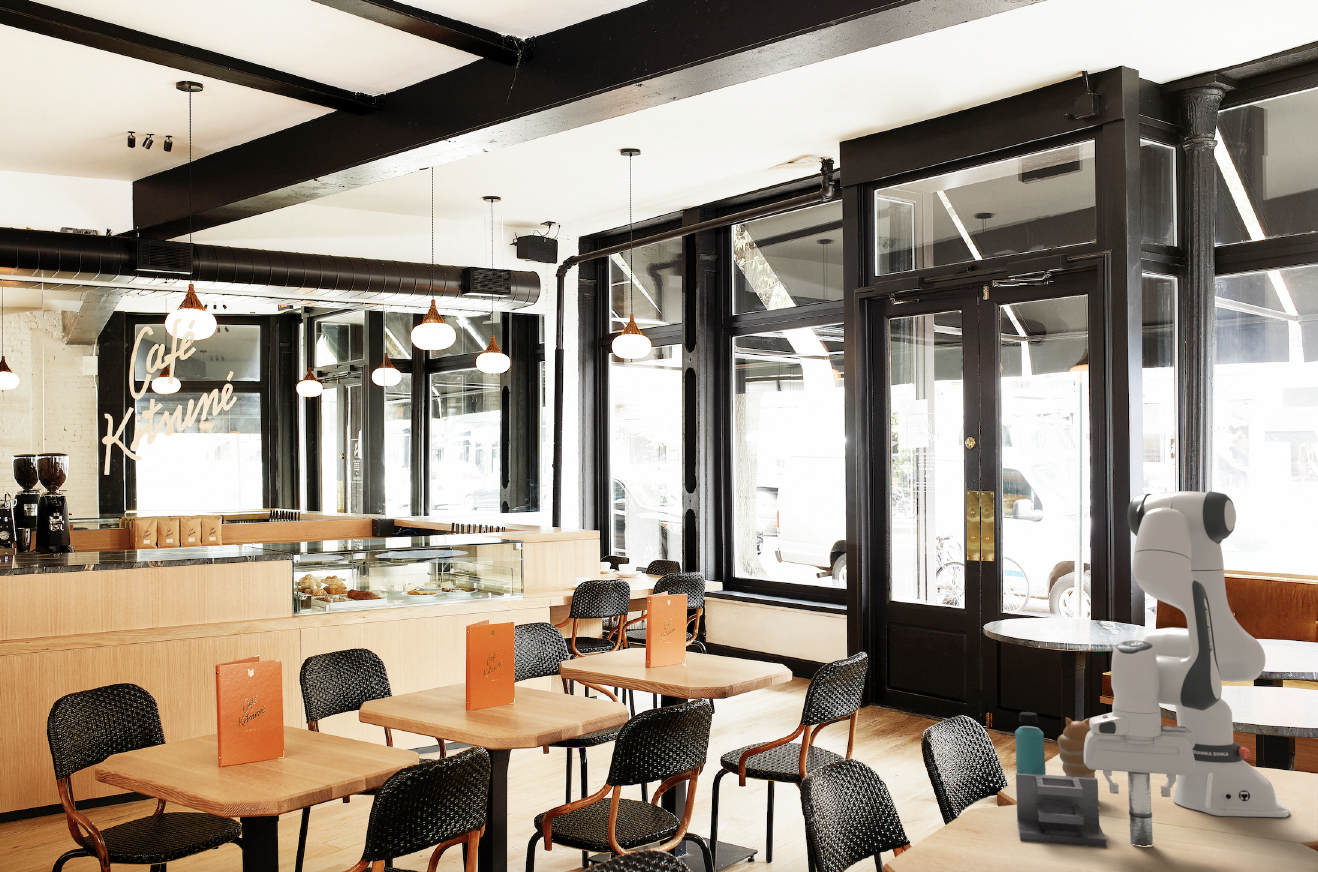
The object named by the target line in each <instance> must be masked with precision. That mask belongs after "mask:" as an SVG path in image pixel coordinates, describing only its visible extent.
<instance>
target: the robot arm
mask: <svg viewBox="0 0 1318 872" xmlns="http://www.w3.org/2000/svg"><path fill="white" fill-rule="evenodd" d="M1236 522H1237V512H1236V509H1235V504H1234V502H1233V500H1232V499H1231V498H1230V497H1229V496H1228V495H1227V494H1225V493H1221V492H1217V491H1208V492H1204V491H1193V490H1191V491H1189V490H1188V491H1187V490H1185V491H1181V490H1180V491H1175V492H1160V493H1155V494H1154V493H1153V494H1151V493H1143V494H1140V495H1137V496H1134V498H1133V499H1132V500H1131V501H1130V503H1129V504H1128V507H1127V524H1128V527H1129V530H1130V531H1131V533H1133V534H1134V535H1135V537H1136V540H1135V544H1134V545H1135V546H1134V551H1133V552H1134V553H1133V562H1132V564H1133V565H1132V573H1133V577H1134V580H1135V582H1136V584H1137V586H1138V587H1139V588H1140V589H1141V590H1142V591H1143V592H1144V593H1146V594H1147V595H1149V596H1150V597H1152V598H1154V599H1155V600H1159V602H1163V603H1165V604H1168V605H1170V606H1173V607H1174V608H1176V609H1178V610H1180V611H1181V612H1183V614H1184V616H1185V618H1186V625H1187V628H1184V627H1175V626H1174V627H1164V628H1155V629H1152V630H1150V631H1149V632H1148V633H1147V634H1146V635H1145V637H1144V639H1143V640H1125V641H1120V642H1118V643H1117V644H1115V645H1114V647H1113V650H1112V656H1111V665H1110V666H1111V669H1110V670H1111V671H1110V680H1111V681H1110V683H1111V689H1112V691H1113V692H1112V693H1113V701H1112V704H1111V705H1112V707H1111V708H1112V709H1111V710H1112V712H1108V713H1104V714H1101V715H1097V716H1093V717H1092V716H1091V717H1089V718H1090V720H1089V727H1090V729H1091V730H1090V731H1089V732H1088V733H1087V735H1086V738H1085V744H1084V763H1085V765H1086V766H1087V767H1088V768H1089V769H1091V770H1096V771H1102V774H1103V776H1104V778H1105V779H1106V781H1107V782H1108V786H1109V793H1110V794H1114V795H1115V794H1116V795H1117V794H1118V795H1119V784H1118V783H1117V782H1113V780H1112V779H1111V777H1112V776H1113V774H1112V773H1113V772H1125V773H1128V772H1140V773H1150V774H1158V775H1166V778H1167V781H1166V782H1165V785H1160V790H1161V791H1160V795H1161V797H1163V798H1171V789H1172V787H1173V786H1174V784H1175V783H1176V786H1175V791H1174V795H1173V798H1172V801H1173V802H1174V803H1175V804H1177V805H1180V806H1182V807H1185V808H1186V809H1187V808H1188V809H1192V810H1194V811H1195V810H1196V811H1201V812H1204V813H1206V814H1209V815H1211V816H1212V815H1213V816H1218V817H1255V818H1256V817H1257V818H1258V817H1261V818H1265V817H1266V818H1286V817H1288V816H1289V815H1290V813H1289V808H1288V806H1287V805H1286V804H1285V803H1283V802H1282V801H1280V800H1278V799H1277V797H1276V793H1275V789H1274V786H1273V784H1272V782H1271V781H1270V780H1269V779H1268V778H1267V777H1266V776H1265V775H1264V774H1262V772H1260V771H1259V770H1257V769H1256V768H1255V767H1254V766H1252V765H1250V764H1249V763H1248V762H1246V761H1245V760H1244V759H1247V758H1249V757H1250V756H1251V751H1250V750H1249V749H1248V748H1247V747H1245V746H1242V745H1241V744H1238V743H1237V742H1235V741H1234V732H1233V731H1234V730H1233V729H1234V727H1233V712H1232V709H1231V707H1230V706H1229V704H1228V703H1227V701H1226V700H1224V699H1223V698H1222V697H1221V696H1222V692H1223V691H1222V689H1223V686H1222V685H1223V684H1222V682H1229V683H1231V682H1232V683H1235V682H1237V683H1238V682H1247V681H1248V682H1249V681H1254V680H1257V679H1258V678H1259V677H1260V675H1262V673H1263V671H1264V670H1265V668H1266V667H1265V666H1266V655H1265V651H1264V648H1263V647H1262V645H1261V644H1260V642H1259V641H1258V640H1257V638H1255V637H1253V636H1252V635H1251V634H1249V632H1247V631H1246V630H1245V629H1244V628H1243V627H1242V626H1241V624H1240V623H1238V621H1237V619H1236V618H1235V616H1234V614H1233V613H1232V610H1231V608H1230V604H1229V601H1228V597H1227V596H1228V595H1227V590H1226V588H1227V587H1226V580H1225V567H1224V558H1223V551H1222V546H1221V544H1222V542H1223V540H1225V539H1227V538H1228V537H1229V536H1230V535H1231V534H1232V533H1233V532H1234V529H1235V528H1236V527H1235V526H1236ZM1160 704H1161V705H1162V704H1164V705H1170V706H1171V705H1172V706H1175V712H1176V713H1175V715H1176V720H1177V721H1176V722H1177V723H1176V724H1177V726H1175V725H1167V724H1166V725H1165V724H1164V725H1163V724H1162V715H1161V714H1162V713H1161V706H1160Z"/></svg>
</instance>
